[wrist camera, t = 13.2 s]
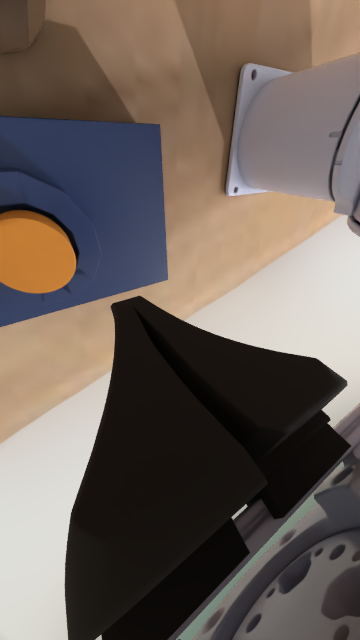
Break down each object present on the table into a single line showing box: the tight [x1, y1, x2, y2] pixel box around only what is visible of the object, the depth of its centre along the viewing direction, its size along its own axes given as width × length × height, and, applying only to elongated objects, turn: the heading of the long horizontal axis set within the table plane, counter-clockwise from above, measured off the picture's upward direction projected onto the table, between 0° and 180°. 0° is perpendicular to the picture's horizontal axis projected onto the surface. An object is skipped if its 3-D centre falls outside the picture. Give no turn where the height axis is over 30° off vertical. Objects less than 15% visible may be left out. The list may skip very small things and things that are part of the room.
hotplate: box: [0, 116, 168, 327], centre depth 12 cm, size 13×10×5 cm
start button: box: [0, 210, 76, 293], centre depth 10 cm, size 4×4×2 cm
